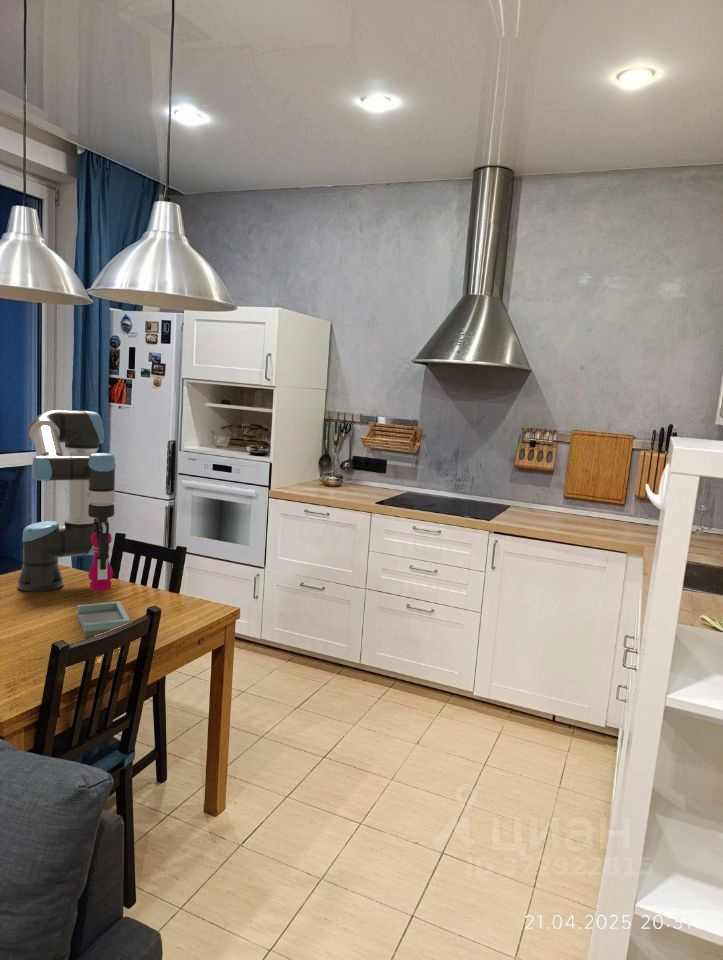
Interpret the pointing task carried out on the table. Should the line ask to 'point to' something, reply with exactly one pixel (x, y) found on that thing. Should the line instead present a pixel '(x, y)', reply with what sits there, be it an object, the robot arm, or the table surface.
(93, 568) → the pepper mill
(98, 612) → the tray
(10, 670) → the table surface
